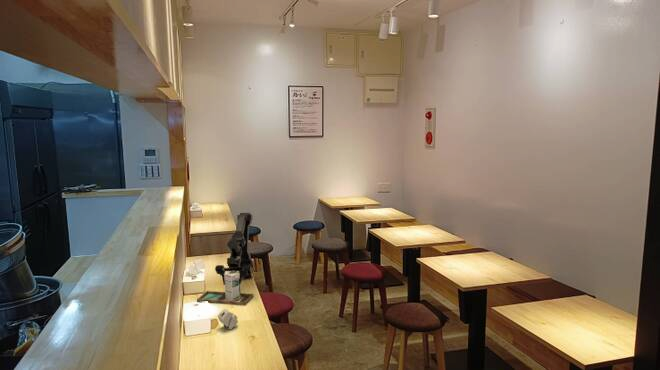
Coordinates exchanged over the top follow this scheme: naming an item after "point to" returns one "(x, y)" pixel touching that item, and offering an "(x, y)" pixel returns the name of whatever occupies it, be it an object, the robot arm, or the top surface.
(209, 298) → the brown rectangular tray
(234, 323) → the grey lumpy piece
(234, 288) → the syrup box
